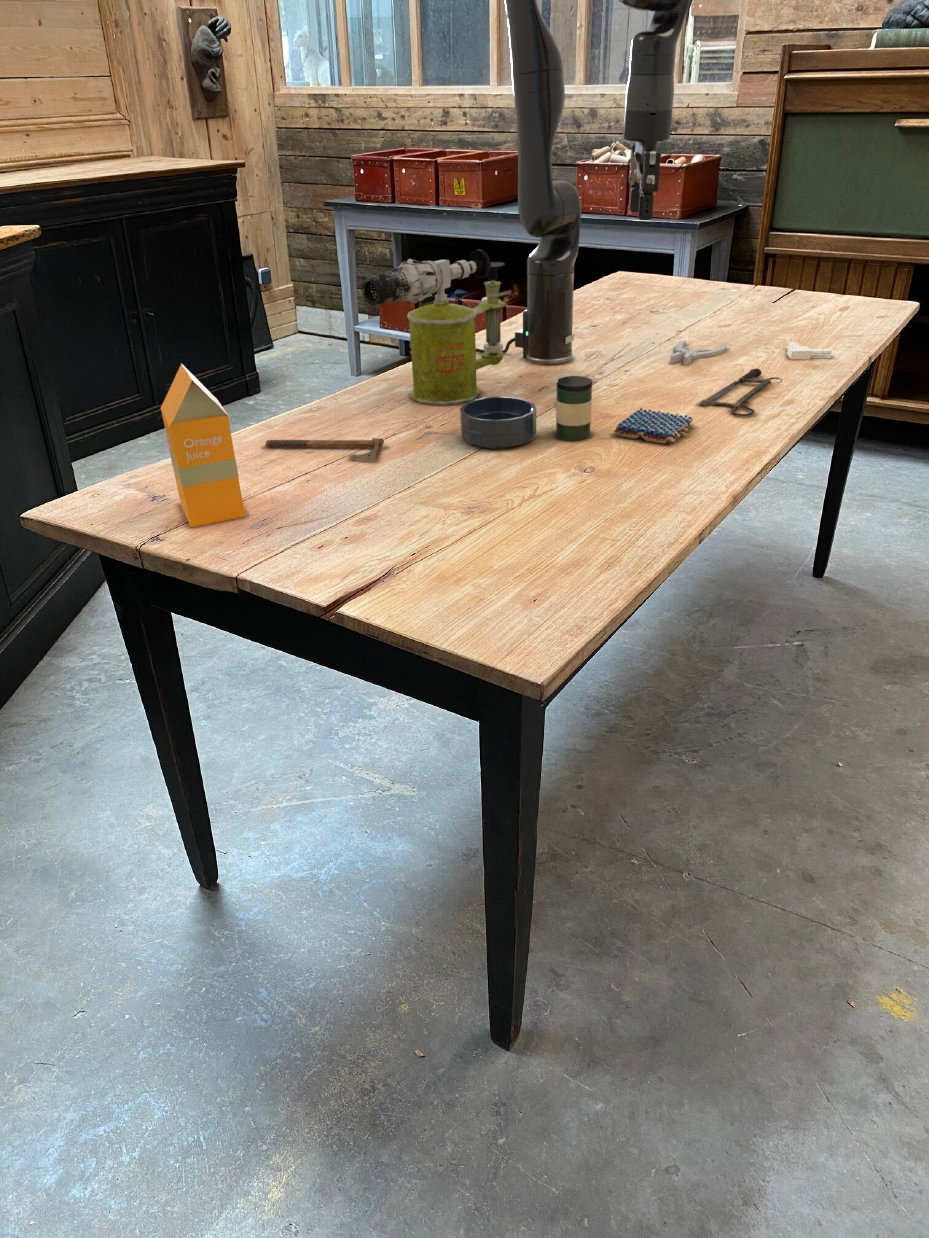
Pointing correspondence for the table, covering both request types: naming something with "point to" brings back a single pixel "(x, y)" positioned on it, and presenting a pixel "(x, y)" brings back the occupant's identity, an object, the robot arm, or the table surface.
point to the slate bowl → (498, 422)
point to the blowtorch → (443, 324)
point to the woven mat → (654, 426)
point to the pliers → (688, 355)
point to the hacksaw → (745, 398)
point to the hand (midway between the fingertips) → (640, 215)
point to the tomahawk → (367, 457)
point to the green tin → (573, 408)
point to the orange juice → (201, 452)
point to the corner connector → (806, 352)
